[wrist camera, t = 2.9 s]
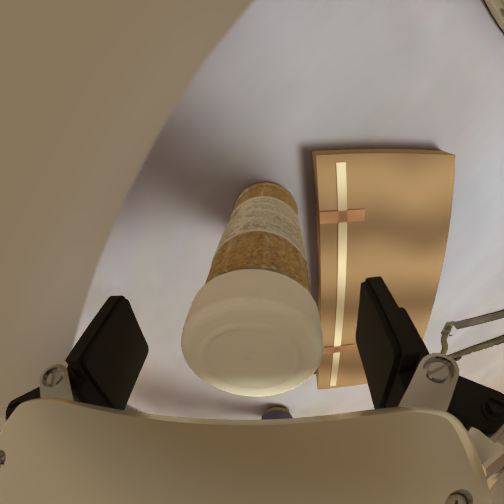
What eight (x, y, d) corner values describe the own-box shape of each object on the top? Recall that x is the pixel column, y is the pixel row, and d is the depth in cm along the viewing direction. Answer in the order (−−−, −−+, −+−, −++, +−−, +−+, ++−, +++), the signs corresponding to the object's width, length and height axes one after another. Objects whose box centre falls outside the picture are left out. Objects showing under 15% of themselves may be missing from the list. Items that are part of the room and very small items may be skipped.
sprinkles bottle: (269, 252, 22) (259, 414, 10) (220, 214, 21) (153, 359, 9) (311, 208, 20) (355, 356, 8) (261, 166, 19) (235, 273, 7)
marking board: (311, 150, 18) (316, 155, 16) (441, 150, 17) (455, 155, 15) (316, 374, 28) (317, 390, 26) (404, 362, 27) (409, 376, 25)
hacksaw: (552, 290, 22) (558, 296, 20) (527, 345, 26) (531, 352, 25) (422, 325, 25) (427, 334, 23) (401, 385, 29) (404, 394, 28)
